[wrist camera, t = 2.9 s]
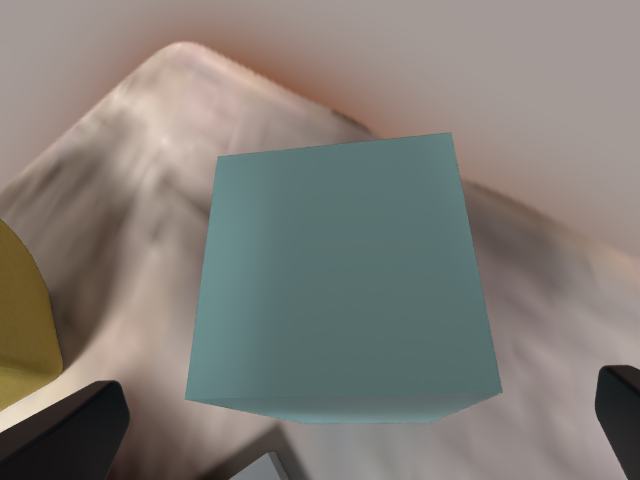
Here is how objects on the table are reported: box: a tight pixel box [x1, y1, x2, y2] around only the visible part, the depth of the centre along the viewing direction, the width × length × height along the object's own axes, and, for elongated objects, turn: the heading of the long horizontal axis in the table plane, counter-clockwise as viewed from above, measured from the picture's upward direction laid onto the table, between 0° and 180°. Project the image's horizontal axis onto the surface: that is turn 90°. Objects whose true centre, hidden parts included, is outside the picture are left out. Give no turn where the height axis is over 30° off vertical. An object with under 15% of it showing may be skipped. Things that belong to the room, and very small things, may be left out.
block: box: [185, 133, 502, 424], centre depth 12 cm, size 5×5×11 cm
